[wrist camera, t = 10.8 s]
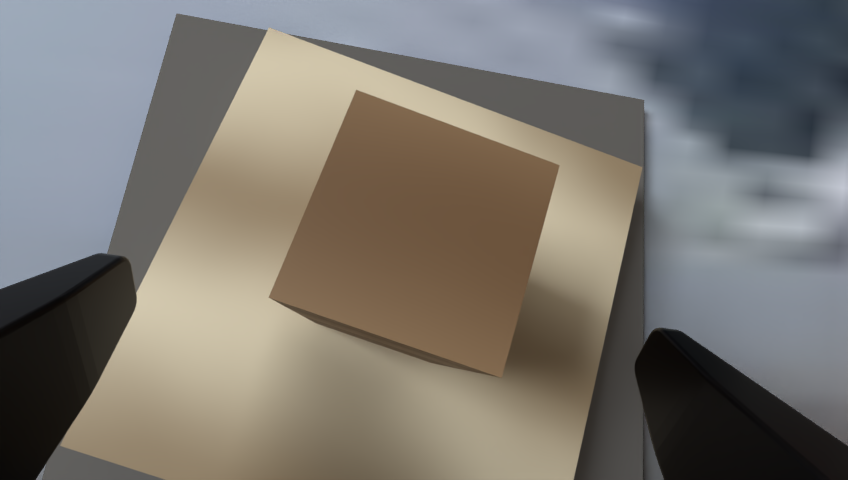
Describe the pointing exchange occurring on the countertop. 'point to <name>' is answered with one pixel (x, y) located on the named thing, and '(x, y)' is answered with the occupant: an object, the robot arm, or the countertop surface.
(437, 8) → the countertop surface
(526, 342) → the lid
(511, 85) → the mat
